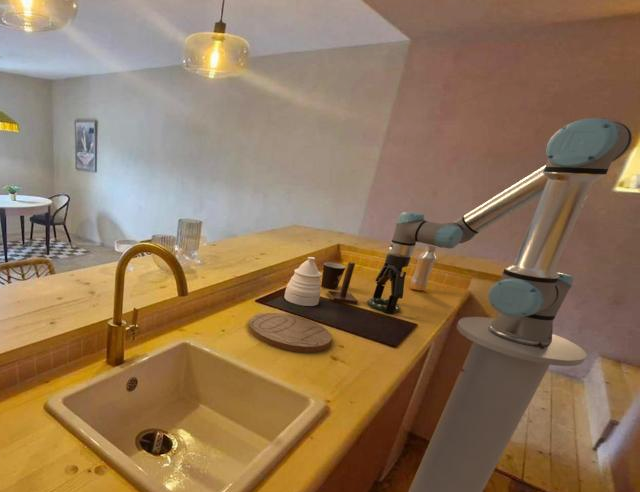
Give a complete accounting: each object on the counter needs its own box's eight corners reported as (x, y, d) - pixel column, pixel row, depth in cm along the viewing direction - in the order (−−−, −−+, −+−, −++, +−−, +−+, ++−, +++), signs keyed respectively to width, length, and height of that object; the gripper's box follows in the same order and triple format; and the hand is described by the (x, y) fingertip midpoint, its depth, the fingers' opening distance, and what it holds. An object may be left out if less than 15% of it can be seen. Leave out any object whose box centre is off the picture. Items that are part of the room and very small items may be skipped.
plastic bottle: (426, 290, 177) (441, 246, 169) (423, 293, 172) (439, 249, 164) (409, 286, 181) (423, 244, 173) (406, 289, 176) (421, 246, 168)
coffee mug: (327, 290, 169) (332, 268, 166) (314, 283, 177) (319, 262, 173) (350, 289, 172) (356, 268, 168) (336, 283, 179) (342, 262, 176)
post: (357, 304, 155) (367, 267, 149) (332, 301, 157) (342, 264, 151) (350, 296, 163) (360, 261, 157) (327, 294, 165) (336, 258, 159)
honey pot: (319, 308, 149) (331, 263, 142) (284, 302, 153) (293, 258, 146) (317, 297, 160) (327, 254, 154) (284, 292, 164) (293, 250, 158)
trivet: (341, 336, 127) (343, 330, 126) (310, 361, 111) (312, 355, 110) (270, 311, 143) (271, 307, 143) (234, 330, 127) (234, 325, 126)
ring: (403, 314, 148) (405, 309, 147) (372, 310, 150) (373, 305, 149) (392, 303, 158) (394, 299, 157) (363, 300, 160) (364, 295, 159)
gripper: (376, 245, 158) (361, 294, 166) (402, 262, 135) (383, 317, 143) (396, 247, 156) (380, 296, 164) (426, 264, 134) (405, 320, 142)
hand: (382, 306), depth 154 cm, fingers open, 13 cm apart
